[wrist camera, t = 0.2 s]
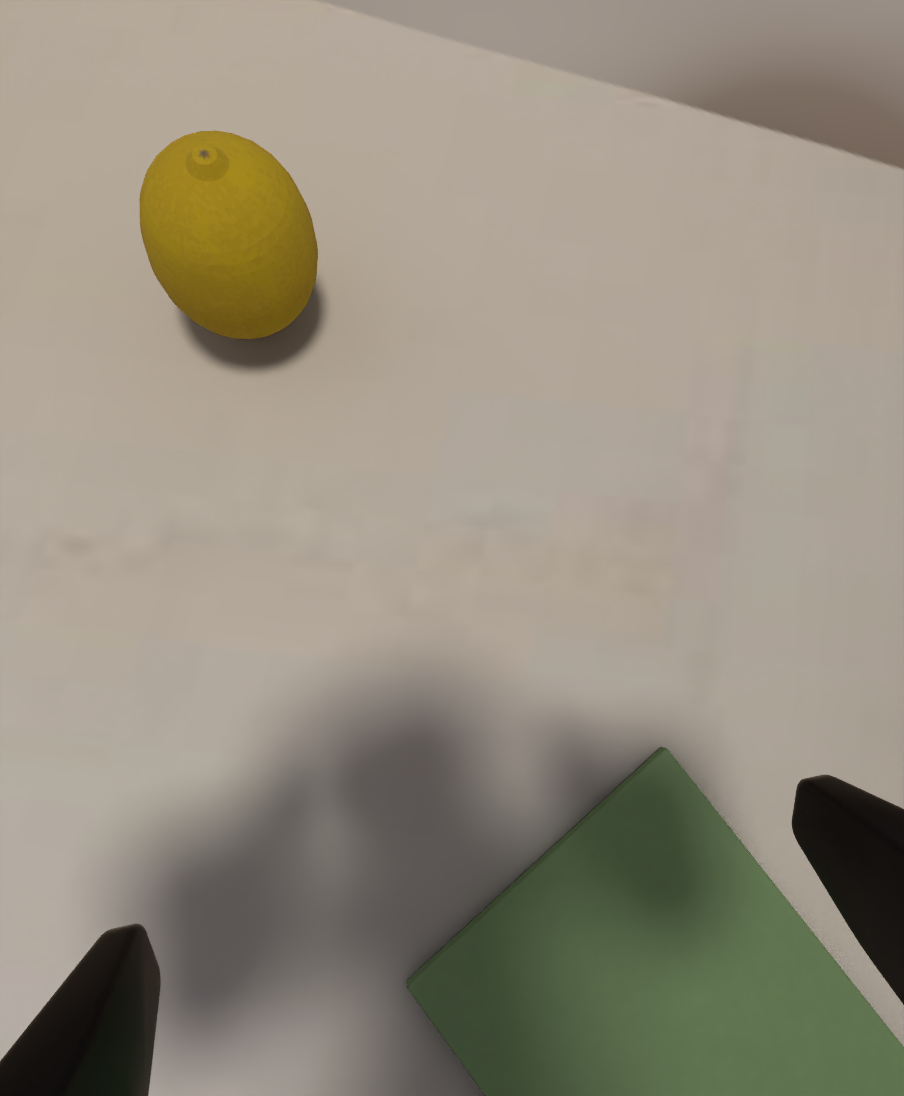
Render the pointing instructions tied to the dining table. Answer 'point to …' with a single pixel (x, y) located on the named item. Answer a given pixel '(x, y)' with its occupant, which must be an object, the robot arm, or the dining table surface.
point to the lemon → (228, 234)
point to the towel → (653, 969)
